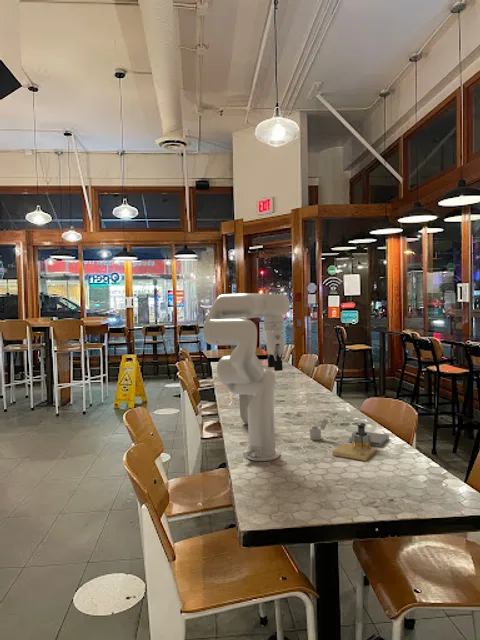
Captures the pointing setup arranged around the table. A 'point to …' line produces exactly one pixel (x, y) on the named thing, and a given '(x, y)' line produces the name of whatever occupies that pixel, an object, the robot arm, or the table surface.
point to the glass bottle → (244, 406)
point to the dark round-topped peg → (361, 428)
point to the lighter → (317, 431)
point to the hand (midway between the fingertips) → (275, 368)
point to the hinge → (361, 446)
